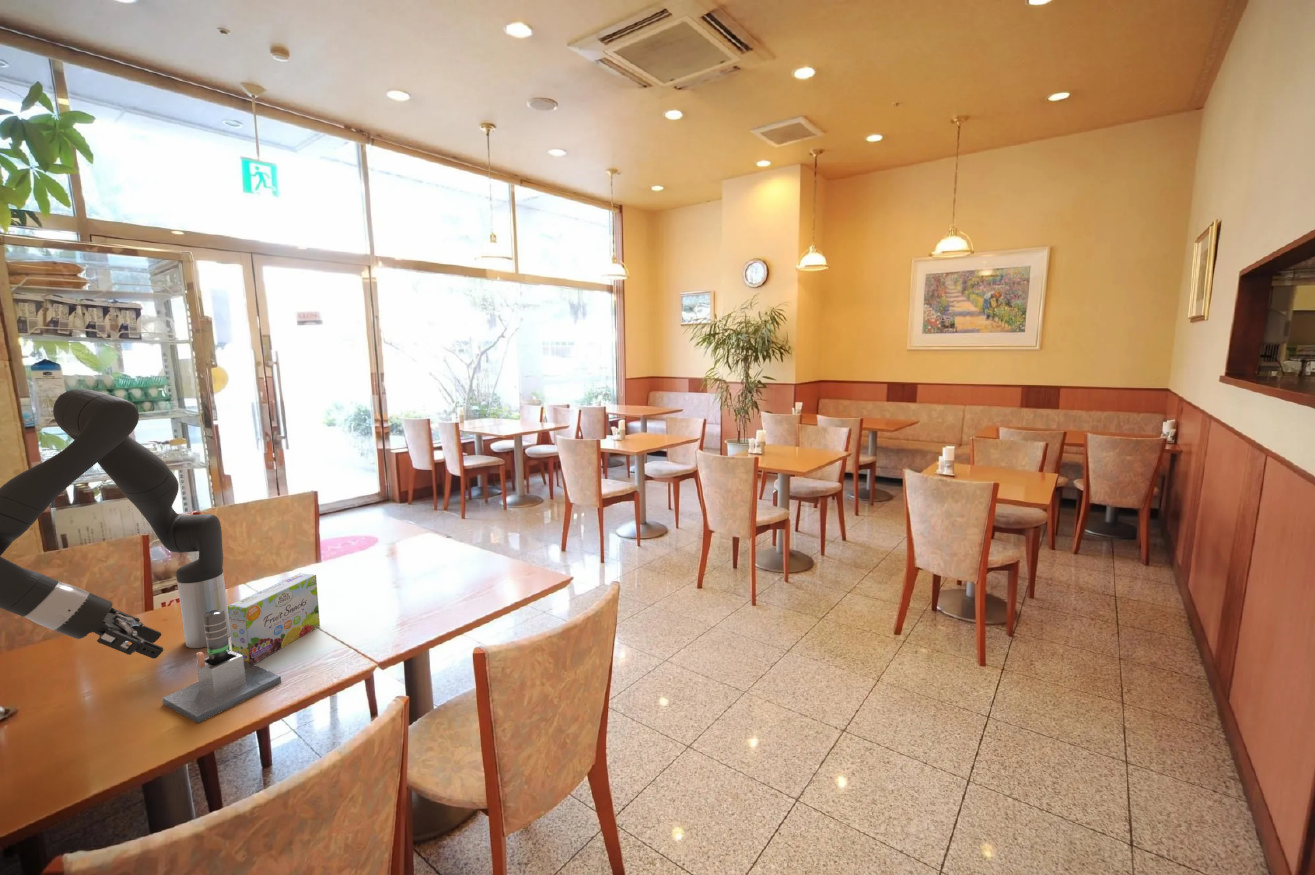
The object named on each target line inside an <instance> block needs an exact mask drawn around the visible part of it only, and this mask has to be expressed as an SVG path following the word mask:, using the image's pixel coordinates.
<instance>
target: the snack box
mask: <svg viewBox="0 0 1315 875" xmlns="http://www.w3.org/2000/svg"><path fill="white" fill-rule="evenodd" d="M317 583H318V582H317V574H314V573H313V574H312V573H301V572H300V573H297V574H295V575H293V576H291V577H289V578H287V579H284V580H282V581H279V582H277V583H275V584H274V585H271V586H269V587H267V588H265V589H262V590H260V591H258V592H255V593H253V594H251V595H249V596H246V597H244V598H243V599H241V600H238V601H236V602H233V603H231V604H229V605H227V606H228V616H229V626H230V644H231V651H233V652H236V653H238V654H240V655H243V661H244V662H245V661H246V662H248V663H251V664H253V665H256V664H257V663H260V662H261V661H263V660H264V659H266V658H268V657H269V656H271V655H272V654H274V653H277V652H278V651H280V650H282V649H283V648H284V647H286V646H288V645H290V644H292V643H294V642H295V641H297V640H299V639H300V638H302V637H304V636H306V635H307V634H309V633H311V632H312V631H313V630H316V629H318V628H319V627H320V626H321V621H320V610H319V597H318V596H319V594H318V584H317ZM318 626H319V627H318ZM315 628H316V629H315ZM311 630H312V631H311ZM310 631H311V632H310Z"/></svg>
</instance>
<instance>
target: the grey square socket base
mask: <svg viewBox="0 0 1315 875" xmlns="http://www.w3.org/2000/svg"><path fill="white" fill-rule="evenodd" d="M229 650H230V658H231V659H230V660H227V661H225V662H223V663H220V664H218V665H216V666H212V665H210V664H209V656H208V657H205V653H204V652H202V651H199V652H197V653H196V654H195V655H196V660H197V662H195V663H196V671H197V678H198V681H197V682H195V683H193V684H190V685H188V686H185V687H184V688H181V689H179V690H177V691H175V692H172V693H170V694H168V695H165V696H163V697H162V698H161V699H162V704H163V705H164V706H165V707H167V708H169V709H171V710H173V711H175V712H176V713H178V714H180V715H182V716H184V717H185V718H187V719H189V720H191V721H193V722H194V723H196V722H197V723H196V724H200V723H202V722H204V721H206V720H208V719H210V718H212V717H214V716H216V715H219V714H220V713H222V712H224V711H226V710H228V709H230V708H233V707H235V706H236V705H239V704H241V703H242V702H245V701H247V700H249V699H251V698H253V697H254V695H255V696H256V694H257V695H258V694H260V693H262V692H264V691H267V690H269V689H272V688H273V687H275V686H277V685H279V684H281V683H282V678H281V677H282V676H281V675H279V674H277V673H274V672H272V671H269V670H267V669H266V668H265V669H264V668H263V667H261V666H258V665H256V664H254V665H253V664H251V663H248V662H246V661H245V662H244V661H243V655H240V654H238V653H236V652H233V651H232V649H229ZM248 698H249V699H248ZM246 699H247V700H246ZM244 700H245V701H244ZM238 703H239V704H238ZM221 711H222V712H221ZM219 712H220V713H219ZM213 715H214V716H213ZM211 716H212V717H211ZM209 717H210V718H209ZM205 719H206V720H205ZM203 720H204V721H203ZM201 721H202V722H201Z"/></svg>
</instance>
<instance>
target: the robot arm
mask: <svg viewBox="0 0 1315 875" xmlns="http://www.w3.org/2000/svg"><path fill="white" fill-rule="evenodd" d="M52 408H53V409H52V411H53V412H52V414H53V418H54V421H55V422H56V424H57V426H58V427H59V428H60V429H61V430H62V431H63V432H65V434H67V435H68V436H69V437H70V438H71V439H72V440H73V441H72V442H71V443H70V444H69V445H68V446H67V447H65V448H64V449H62V450H61V451H60V452H58V453H57V454H55V455H53V456H52V457H50V458H47V459H46V460H45V461H43V462H40V463H39V464H37V465H34V466H33V467H31V468H29V469H25V471H23V472H21V473H18V474H17V475H16V476H14V477H13V478H11V479H9V480H8V481H6V482H5V483H4V484H3V485H2V486H1V487H0V609H1V610H5V611H8V612H10V613H13V614H15V615H17V616H20V617H23V618H24V619H25V618H26V620H27V619H28V620H30V621H31V622H33V623H35V624H37V625H39V626H43V627H44V628H47V629H50V630H52V631H55V632H57V633H60V634H63V635H66V636H67V637H71V638H74V639H76V640H81V639H84V638H85V637H87V636H88V635H89V634H92V633H93V634H94V633H95V634H96V635H97V636H98V639H97V640H96V642H97V643H98V644H102V645H103V646H106V647H109V648H111V649H112V650H113V649H114V650H115V651H116V650H117V651H119V652H122V653H124V654H125V655H127V656H128V655H132V654H134V653H135V652H136V653H138V654H140V655H143V656H146V657H147V658H150V659H157V658H158V657H159V656H160V655H161V654H162V653H163V652H164V647H163V646H161V645H158V644H156V643H155V642H156V641H158V640H159V639H160V638H161V636H162V633H161V631H158V630H156V629H154V628H151V627H148V626H146V625H144V623H143V622H142V621H141V619H140V618H139V617H137V616H136V617H135V616H134V615H131V614H128V613H127V612H123V611H121V610H118V609H116V608H114V607H113V602H112V601H111V600H109V599H105V598H104V597H102V596H99V595H97V594H94V593H91V592H89V591H87V590H85V589H83V588H80V587H77V586H75V585H72V584H69V583H66V582H62V581H60V580H58V579H54V578H53V577H50V576H47V575H45V574H43V573H40V572H37V571H35V570H32V569H28V568H24V567H22V566H20V565H18V564H16V563H14V562H12V561H10V560H9V559H6V558H5V557H2V555H3V554H4V553H5V551H7V549H8V548H9V547H10V546H11V544H13V543H14V541H15V540H17V539H18V538H20V537H21V536H22V535H23V534H25V533H26V532H27V531H28V530H29V529H30V528H31V527H32V525H34V523H35V522H36V521H37V520H38V519H39V518H40V516H41V515H42V514H43V513H44V512H45V511H46V510H47V509H48V507H50V505H51V504H52V503H54V501H55V500H56V499H57V498H58V497H59V496H60V495H61V494H62V493H63V492H64V491H66V489H67V488H68V487H69V486H71V485H72V484H73V483H74V482H75V481H76V480H78V479H79V478H80V477H81V476H82V475H84V474H85V473H86V472H88V471H89V470H90V469H91V468H92V467H93V466H95V465H96V464H98V465H99V467H100V468H101V469H102V470H103V471H104V472H105V474H107V476H108V477H109V478H110V479H111V480H112V481H113V483H114V484H115V485H116V486H117V487H118V489H119V490H120V491H121V493H122V494H123V495H124V496H125V497H126V499H128V500H129V502H131V503H132V504H133V506H134V507H136V508H137V510H138V511H139V512H140V514H141V515H142V516H143V517H144V519H145V520H146V522H148V524H149V525H150V527H151V528H152V530H153V532H154V533H155V535H156V537H157V538H158V540H159V541H160V543H161V544H162V546H163V547H164V548H165V549H166V550H168V551H169V552H172V553H176V554H177V553H178V554H180V553H181V554H182V553H194V552H198V559H196V560H193V561H190V562H188V563H186V564H184V565H182V566H180V567H179V568H177V570H176V572H175V576H176V584H177V590H178V599H179V603H180V604H179V605H180V611H181V612H180V614H181V619H182V626H183V635H184V642H185V646H186V648H189V649H199V648H206V647H207V641H206V633H205V626H204V618H203V615H204V614H205V613H207V612H210V611H213V610H219V609H222V610H224V611H225V618H226V625H227V633H228V638H230V637H231V635H230V626H229V616H228V606H229V605H228V600H227V591H226V583H225V577H224V568H223V564H224V551H223V535H222V534H223V531H222V524H221V521H220V519H219V517H218V516H217V515H215V514H213V513H204V514H203V513H202V514H201V513H200V514H190V515H189V514H188V515H183V514H179V513H178V512H176V511H175V509H174V508H173V505H174V503H175V500H176V499H177V496H178V493H179V488H180V486H179V485H180V484H179V481H178V478H177V477H176V475H175V474H174V472H172V470H171V469H170V468H169V466H168V465H167V464H166V463H165V461H163V459H162V458H161V457H159V456H158V455H157V454H155V453H154V452H153V451H151V450H149V449H148V448H147V447H146V446H144V445H143V444H141V443H139V441H136V440H135V439H134V438H132V437H131V436H130V435H131V434H132V433H133V431H134V430H135V428H136V427H137V425H138V423H139V420H140V413H139V409H138V408H137V406H136V405H135V404H134V403H132V402H131V401H129V400H127V399H124V398H122V397H118V396H114V395H113V394H112V395H111V394H109V393H105V392H101V391H97V390H91V389H87V388H86V389H85V388H84V389H82V388H79V389H78V388H76V389H69V390H67V391H65V392H63V393H61V394H60V395H59V396H58V398H56V399H55V402H54V404H53V407H52ZM129 643H131V644H129Z"/></svg>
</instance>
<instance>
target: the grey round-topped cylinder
mask: <svg viewBox="0 0 1315 875" xmlns="http://www.w3.org/2000/svg"><path fill="white" fill-rule="evenodd" d="M203 618H204V626H205V633H206V641H207V648H206V650H207V655H208V657H209V664H210V665H212V666H216V665H218V664H220V663H223V662H225V661H227V660H230V659H231V658H230V650H231V649H230V642H229V637H228V633H227V625H226V618H225V611H224V610H222V609H219V610H213V611H210V612H207V613H205V614H204V615H203Z"/></svg>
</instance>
